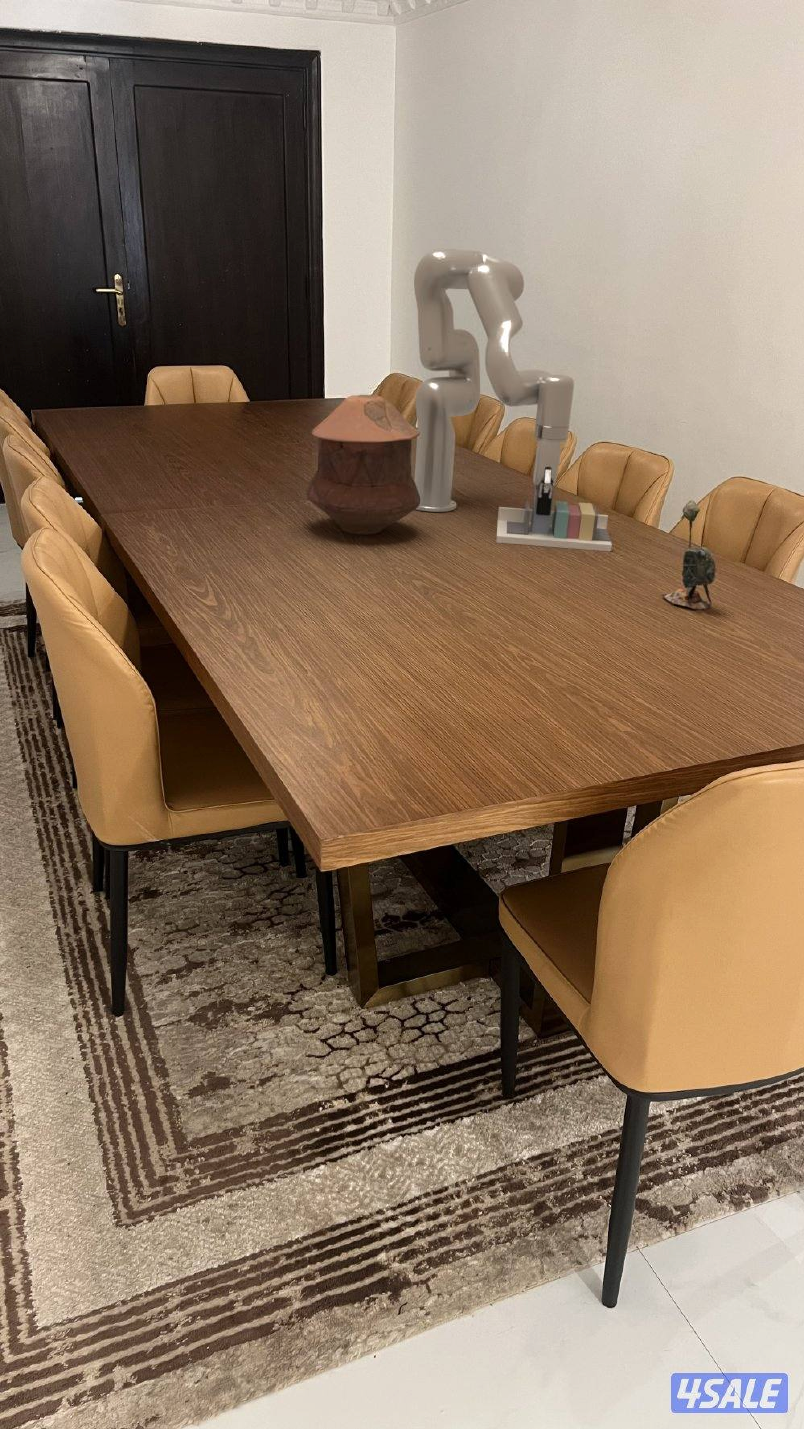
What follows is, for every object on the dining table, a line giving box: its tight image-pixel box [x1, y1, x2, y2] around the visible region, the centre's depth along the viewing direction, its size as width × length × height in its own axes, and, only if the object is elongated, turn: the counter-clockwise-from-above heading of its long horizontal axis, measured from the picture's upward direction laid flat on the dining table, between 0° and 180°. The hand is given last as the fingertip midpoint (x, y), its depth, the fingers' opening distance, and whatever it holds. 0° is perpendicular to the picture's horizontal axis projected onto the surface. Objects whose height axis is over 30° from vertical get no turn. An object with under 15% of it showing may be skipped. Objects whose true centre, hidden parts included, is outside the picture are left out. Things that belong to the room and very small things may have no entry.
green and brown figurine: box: [661, 500, 717, 611], centre depth 193 cm, size 8×11×20 cm
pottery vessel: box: [305, 394, 420, 535], centre depth 228 cm, size 26×26×30 cm
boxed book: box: [531, 484, 555, 534], centre depth 235 cm, size 4×6×10 cm, turn 174°
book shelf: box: [496, 500, 613, 552], centre depth 236 cm, size 26×16×8 cm, turn 84°
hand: (542, 510), depth 235 cm, fingers open, 7 cm apart
